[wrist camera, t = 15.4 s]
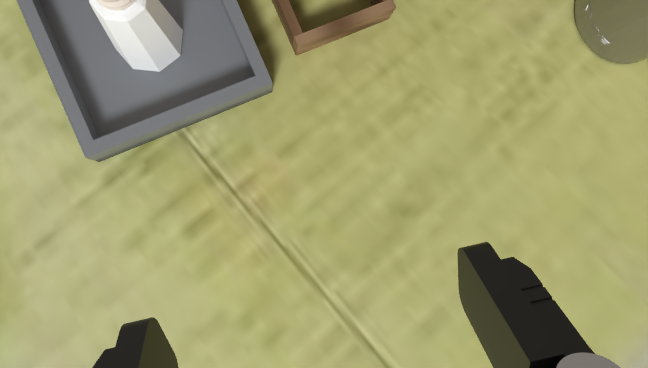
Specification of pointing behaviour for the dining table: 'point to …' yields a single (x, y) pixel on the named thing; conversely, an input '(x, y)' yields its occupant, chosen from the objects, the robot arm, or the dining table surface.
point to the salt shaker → (140, 32)
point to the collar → (330, 24)
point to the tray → (145, 72)
